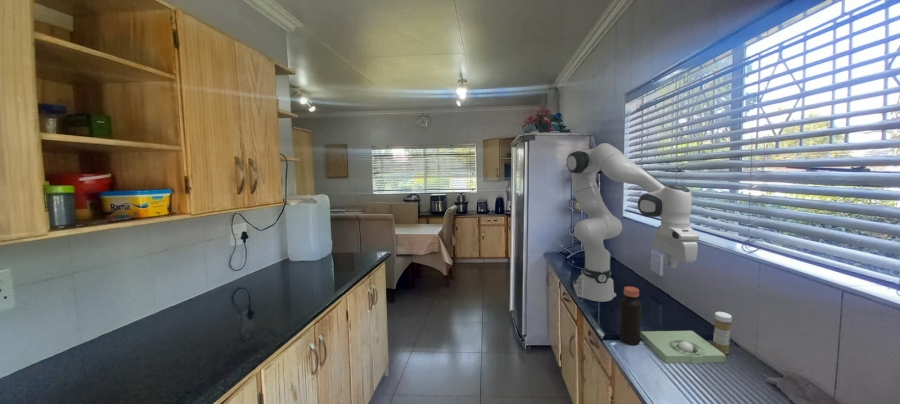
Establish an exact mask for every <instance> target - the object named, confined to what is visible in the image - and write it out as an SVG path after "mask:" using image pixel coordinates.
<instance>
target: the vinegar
mask: <svg viewBox="0 0 900 404" xmlns="http://www.w3.org/2000/svg"><path fill="white" fill-rule="evenodd" d="M623 296H624V297H622V298H621V299H620V303H619V304H620V305H619V336H618V338H619V340H620V342H622V343H623V344H625V345H629V346H638V345H640V343H641V338H640V331H641V326H642V325H641V324H642V305H643V304H642V301H640V300H639V296H640V289H639V288H638V287H635V286H624V287H623Z"/></svg>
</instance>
